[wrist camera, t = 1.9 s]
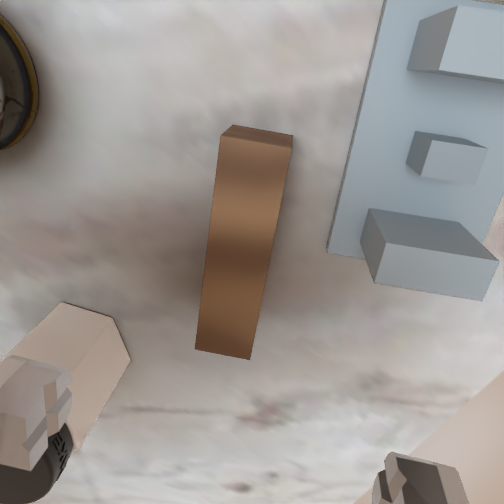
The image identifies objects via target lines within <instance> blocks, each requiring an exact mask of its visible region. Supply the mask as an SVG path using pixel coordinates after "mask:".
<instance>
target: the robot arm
mask: <svg viewBox="0 0 504 504" xmlns="http://www.w3.org/2000/svg"><path fill="white" fill-rule="evenodd" d="M71 381H72V376H71V371H69V370H66V369H63V368H59V367H56V366H52V365H49V364H45V363H42V362H38V361H35V360H31V359H27V358H23V357H20V356H16V355H11V356H9V357H7V358H5V359H4V360H3V361H2V362H1V363H0V464H2V465H7V466H11V467H15V468H19V469H24V470H28V471H31V470H32V469H33V468H34V466H35V465H36V463H37V462H38V460H39V459H40V458H41V456H42V455H43V453H44V452H45V450H46V449H47V448H48V438H47V437H49V436H51V435H53V434H55V433H57V432H58V431H59V430H60V429H61V427H62V426H63V424H64V423H65V421H66V419H67V417H68V415H69V412H70V410H71V405H72V393H71V391H70V390H69V389H68V385H69V384H70V383H71ZM384 463H385V470H383V471H381V472H379V473H378V474H377V477H376V479H375V481H374V485H373V491H372V504H469V502H468V500H467V496H466V494H465V491H464V487H463V485H462V482H461V479H460V476H459V473H458V471H457V470H456V469H455V468H454V467H450V466H446V465H442V464H438V463H434V462H431V461H428V460H423V459H419V458H415V457H411V456H407V455H403V454H399V453H395V452H390V453H389V454H388V455H387V457H386V459H385V460H384Z"/></svg>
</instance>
